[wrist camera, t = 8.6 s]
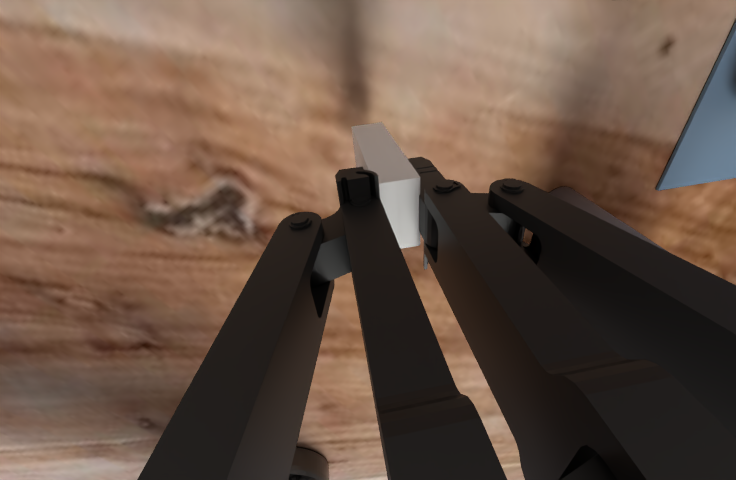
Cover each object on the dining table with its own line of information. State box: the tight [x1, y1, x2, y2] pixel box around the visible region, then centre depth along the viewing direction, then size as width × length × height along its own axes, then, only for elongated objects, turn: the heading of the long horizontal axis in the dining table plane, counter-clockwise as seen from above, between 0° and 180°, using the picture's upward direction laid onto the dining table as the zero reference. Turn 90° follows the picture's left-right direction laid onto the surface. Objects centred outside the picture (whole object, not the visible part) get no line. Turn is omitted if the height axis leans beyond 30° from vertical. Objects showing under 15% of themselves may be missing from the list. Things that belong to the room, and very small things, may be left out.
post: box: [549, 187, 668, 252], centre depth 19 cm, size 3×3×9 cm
